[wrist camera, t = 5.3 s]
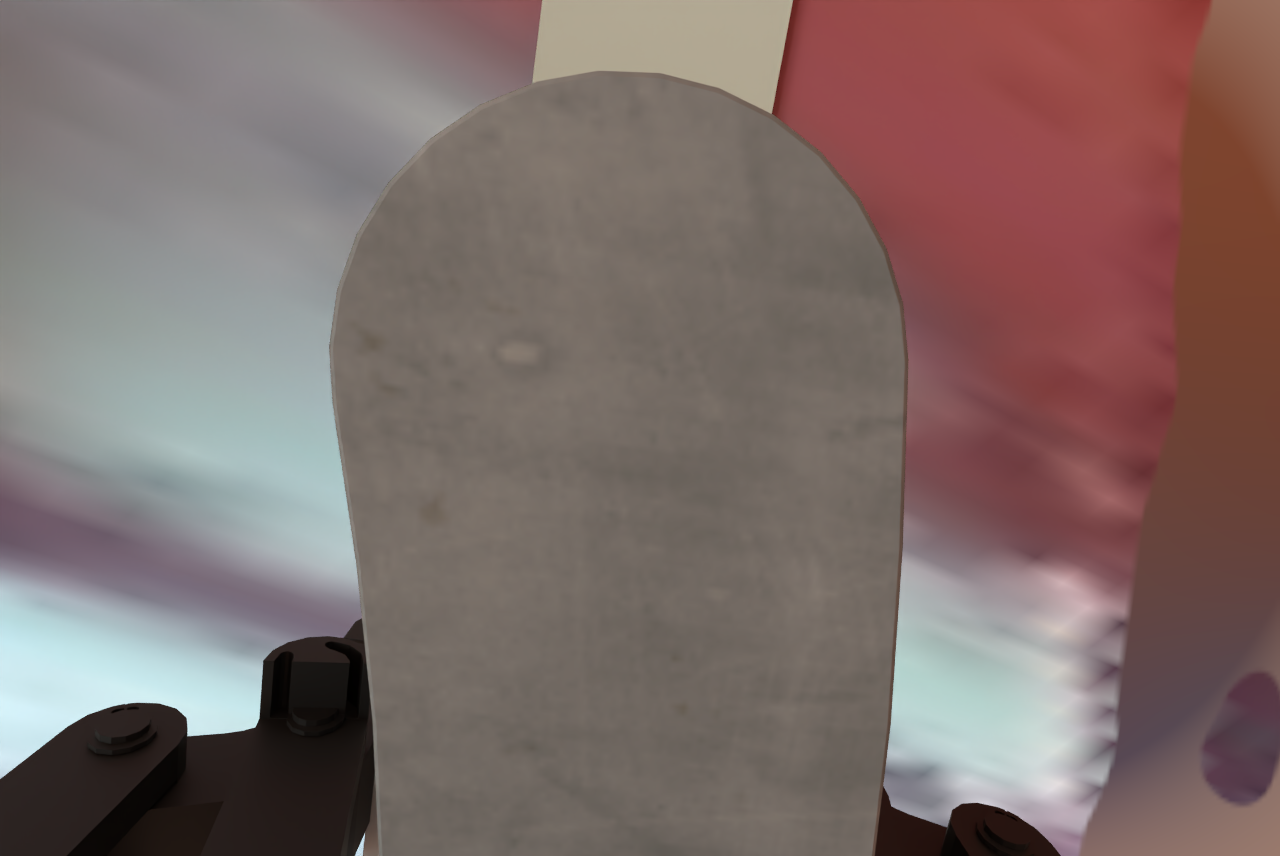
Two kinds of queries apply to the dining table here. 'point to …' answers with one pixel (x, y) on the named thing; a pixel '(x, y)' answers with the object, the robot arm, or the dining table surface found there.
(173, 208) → the dining table surface
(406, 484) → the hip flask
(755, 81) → the mat
